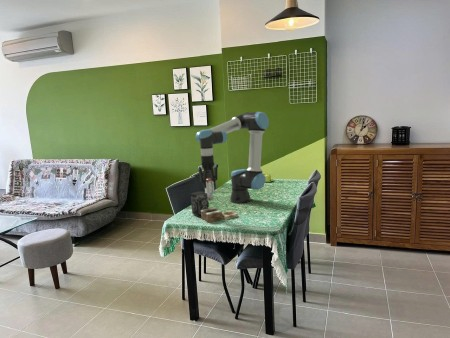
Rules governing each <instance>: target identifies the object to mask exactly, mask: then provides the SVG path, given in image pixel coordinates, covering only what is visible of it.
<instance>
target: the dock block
mask: <svg viewBox="0 0 450 338" xmlns="http://www.w3.org/2000/svg"><path fill="white" fill-rule="evenodd" d="M222 212H223V210H221V209H217V207H216V206H215V207H208V209H204V210H201V216H200V217H201V220H202V221H204V220H205V221H204V222H206V223H208V224H209V223H214V222H217V221H222V220H223V218H222Z"/></svg>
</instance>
